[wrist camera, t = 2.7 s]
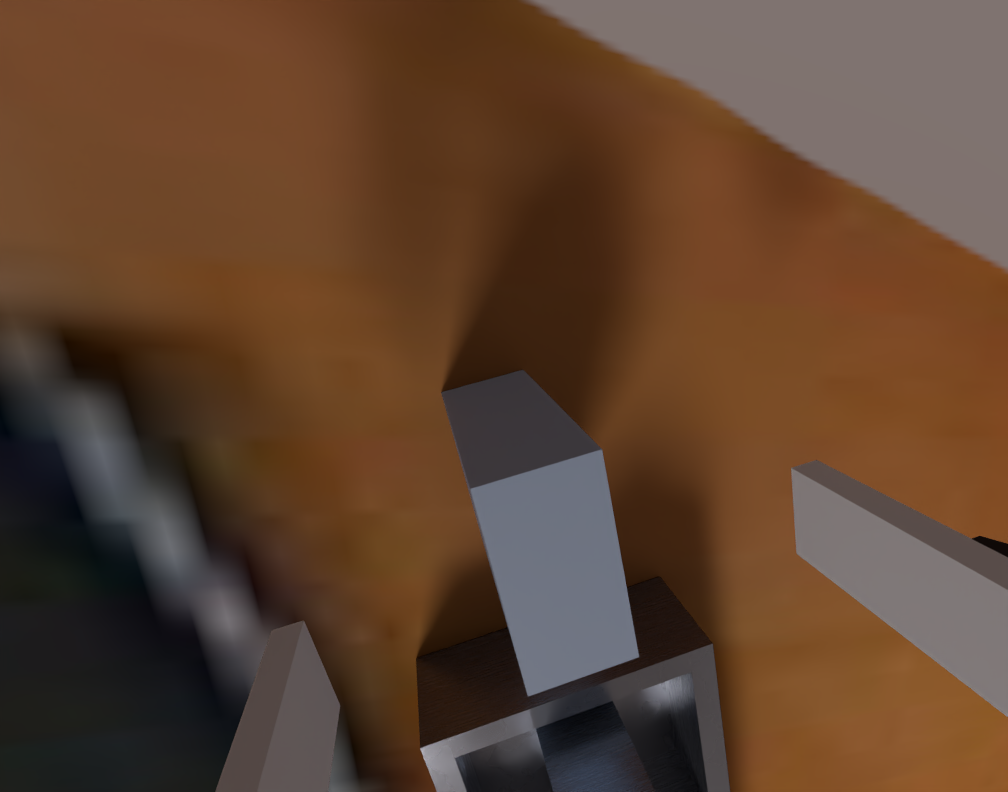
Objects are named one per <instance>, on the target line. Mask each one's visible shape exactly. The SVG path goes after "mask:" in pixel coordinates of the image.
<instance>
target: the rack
mask: <svg viewBox="0 0 1008 792" xmlns="http://www.w3.org/2000/svg"><path fill="white" fill-rule="evenodd" d="M627 592H628V598H629V603H630V609H631V615H632V620H633V626H634V631H635V637H636V643H637V648H638V654H639V657H638V658H635V659H632V660H630V661H627V662H624V663H621V664H618V665H616V666H613V667H610V668H607V669H604V670H601V671H599V672H596V673H593V674H590V675H587V676H585V677H582V678H579V679H576V680H573V681H571V682H568V683H565V684H562V685H559V686H556V687H554V688H551V689H548V690H545V691H542V692H540V693H537V694H534V695H531V696H528V695H527V692H526V688H525V685H524V681H523V678H522V674H521V671H520V667H519V664H518V661H517V657H516V654H515V650H514V647H513V643H512V640H511V636H510V633H509V629H508V628H506V629H503V630H500V631H497V632H494V633H491V634H488V635H485V636H482V637H479V638H476V639H473V640H470V641H467V642H464V643H461V644H458V645H455V646H452V647H449V648H446V649H443V650H440V651H437V652H434V653H431V654H428V655H425V656H422V657H419V658H416V667H417V688H418V709H419V731H420V749H421V751H422V754H423V757H424V759H425V762H426V764H427V767H428V770H429V772H430V775H431V777H432V780H433V783H434V785H435V788H436V790H437V792H730V786H729V777H728V769H727V760H726V752H725V743H724V735H723V726H722V718H721V709H720V701H719V692H718V684H717V676H716V667H715V659H714V650H713V643H712V642H711V641H710V640H709V638H708V637H707V636H706V634H705V633H704V632H703V631H702V629H701V628H700V627H699V626H698V624H697V623H696V622H695V620H694V619H693V618H692V617H691V615H690V614H689V613H688V612H687V610H686V609H685V608H684V606H683V605H682V604H681V603H680V601H679V600H678V599H677V598H676V596H675V595H674V594H673V592H672V591H671V590H670V589H669V587H668V586H667V585H666V584H665V582H664V581H663V580H662V578H661V577H657V578H654V579H651V580H648V581H645V582H642V583H639V584H636V585H633V586H630V587H628V588H627Z"/></svg>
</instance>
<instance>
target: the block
mask: <svg viewBox="0 0 1008 792" xmlns="http://www.w3.org/2000/svg"><path fill="white" fill-rule="evenodd" d="M441 393H442V397H443V400H444V404H445V408H446V411H447V415H448V418H449V422H450V425H451V429H452V433H453V436H454V440H455V443H456V447H457V450H458V454H459V458H460V461H461V465H462V468H463V472H464V475H465V479H466V483H467V486H468V490H469V493H470V497H471V501H472V504H473V508H474V511H475V515H476V518H477V522H478V526H479V529H480V533H481V536H482V540H483V543H484V547H485V550H486V554H487V557H488V560H489V564H490V567H491V571H492V574H493V578H494V581H495V585H496V588H497V592H498V595H499V598H500V602H501V605H502V609H503V612H504V616H505V619H506V623H507V626H508V629H509V633H510V636H511V640H512V643H513V647H514V650H515V654H516V657H517V661H518V664H519V667H520V671H521V674H522V678H523V681H524V685H525V688H526V692H527V695H528V696H531V695H534V694H537V693H540V692H542V691H545V690H548V689H551V688H554V687H556V686H559V685H562V684H565V683H568V682H571V681H573V680H576V679H579V678H582V677H585V676H587V675H590V674H593V673H596V672H599V671H601V670H604V669H607V668H610V667H613V666H616V665H618V664H621V663H624V662H627V661H630V660H632V659H635V658H638V657H639V654H638V648H637V643H636V637H635V631H634V626H633V620H632V615H631V609H630V603H629V598H628V592H627V587H626V581H625V575H624V570H623V564H622V559H621V553H620V547H619V542H618V536H617V531H616V525H615V519H614V514H613V508H612V503H611V497H610V491H609V486H608V480H607V475H606V469H605V463H604V458H603V452H602V449H601V448H600V447H599V446H598V445H597V444H596V443H595V442H594V441H593V440H592V439H591V438H590V437H589V436H588V435H587V434H586V433H585V432H584V431H583V430H582V429H581V428H580V427H579V426H578V425H577V424H576V423H575V422H574V421H573V420H572V418H571V417H570V416H569V415H568V414H567V413H566V412H565V411H564V410H563V409H562V408H561V407H560V406H559V405H558V404H557V403H556V402H555V401H554V400H553V399H552V398H551V397H550V396H549V395H548V394H547V393H546V392H545V391H544V390H543V389H542V388H541V387H540V386H539V385H538V384H537V383H536V382H535V381H534V380H533V379H532V378H531V377H530V376H529V375H528V374H527V373H526V372H525V371H524V370H520V371H517V372H513V373H509V374H506V375H502V376H499V377H495V378H491V379H488V380H484V381H480V382H477V383H473V384H470V385H466V386H462V387H459V388H455V389H451V390H448V391H444V392H441Z"/></svg>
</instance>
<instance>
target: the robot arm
mask: <svg viewBox="0 0 1008 792" xmlns="http://www.w3.org/2000/svg"><path fill="white" fill-rule="evenodd" d="M791 471H792V487H793V503H794V520H795V536H796V552H797V554H798V555H799V556H800V557H802V558H803V559H804V560H806V561H807V562H808V563H810V564H811V565H812V566H813V567H815V568H816V569H817V570H819V571H820V572H821V573H822V574H824V575H825V576H826V577H828V578H829V579H830V580H831V581H833V582H834V583H835V584H837V585H838V586H839V587H841V588H842V589H843V590H844V591H846V592H847V593H848V594H850V595H851V596H852V597H853V598H855V599H856V600H857V601H859V602H860V603H861V604H862V605H864V606H865V607H866V608H868V609H869V610H870V611H871V612H873V613H874V614H875V615H877V616H878V617H879V618H881V619H882V620H883V621H884V622H886V623H887V624H888V625H890V626H891V627H892V628H893V629H895V630H896V631H897V632H899V633H900V634H901V635H902V636H904V637H905V638H906V639H908V640H909V641H910V642H912V643H913V644H914V645H915V646H917V647H918V648H919V649H921V650H922V651H923V652H924V653H926V654H927V655H928V656H930V657H931V658H932V659H933V660H935V661H936V662H937V663H939V664H940V665H941V666H943V667H944V668H945V669H946V670H948V671H949V672H950V673H952V674H953V675H954V676H955V677H957V678H958V679H959V680H961V681H962V682H963V683H964V684H966V685H967V686H968V687H970V688H971V689H972V690H973V691H975V692H976V693H977V694H979V695H980V696H981V697H983V698H984V699H985V700H986V701H988V702H989V703H990V704H992V705H993V706H994V707H995V708H997V709H998V710H999V711H1001V712H1002V713H1003V714H1004V715H1006V716H1007V717H1008V544H1006V543H1003V542H999V541H996V540H992V539H989V538H986V537H982V536H978V537H975V538H972V539H971V538H969V537H967V536H965V535H963V534H961V533H959V532H957V531H955V530H953V529H951V528H949V527H947V526H945V525H943V524H941V523H939V522H937V521H935V520H933V519H931V518H929V517H927V516H925V515H923V514H922V513H920V512H918V511H916V510H914V509H912V508H910V507H908V506H906V505H904V504H902V503H900V502H898V501H896V500H894V499H892V498H890V497H888V496H886V495H884V494H882V493H880V492H878V491H876V490H874V489H872V488H871V487H869V486H867V485H865V484H863V483H861V482H859V481H857V480H855V479H853V478H851V477H849V476H847V475H845V474H843V473H841V472H839V471H837V470H835V469H833V468H831V467H829V466H827V465H825V464H823V463H821V462H820V461H818V460H815V461H812V462H809V463H806V464H803V465H799V466H796V467H793V468H791ZM339 710H340V704H339V702H338V700H337V697H336V695H335V692H334V690H333V688H332V685H331V683H330V681H329V678H328V676H327V674H326V671H325V669H324V667H323V664H322V662H321V660H320V657H319V655H318V653H317V650H316V648H315V646H314V643H313V641H312V639H311V636H310V634H309V632H308V629H307V627H306V625H305V622H304V621H301V622H297V623H294V624H291V625H288V626H285V627H281V628H278V629H275V630H272V632H271V634H270V637H269V640H268V643H267V646H266V649H265V652H264V654H263V657H262V660H261V663H260V666H259V669H258V672H257V674H256V677H255V680H254V683H253V686H252V689H251V692H250V694H249V697H248V700H247V703H246V706H245V709H244V712H243V714H242V717H241V720H240V723H239V726H238V729H237V732H236V734H235V737H234V740H233V743H232V746H231V749H230V752H229V754H228V757H227V760H226V763H225V766H224V769H223V772H222V774H221V777H220V780H219V783H218V786H217V789H216V792H328V787H329V780H330V773H331V766H332V759H333V752H334V745H335V738H336V731H337V724H338V717H339Z"/></svg>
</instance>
